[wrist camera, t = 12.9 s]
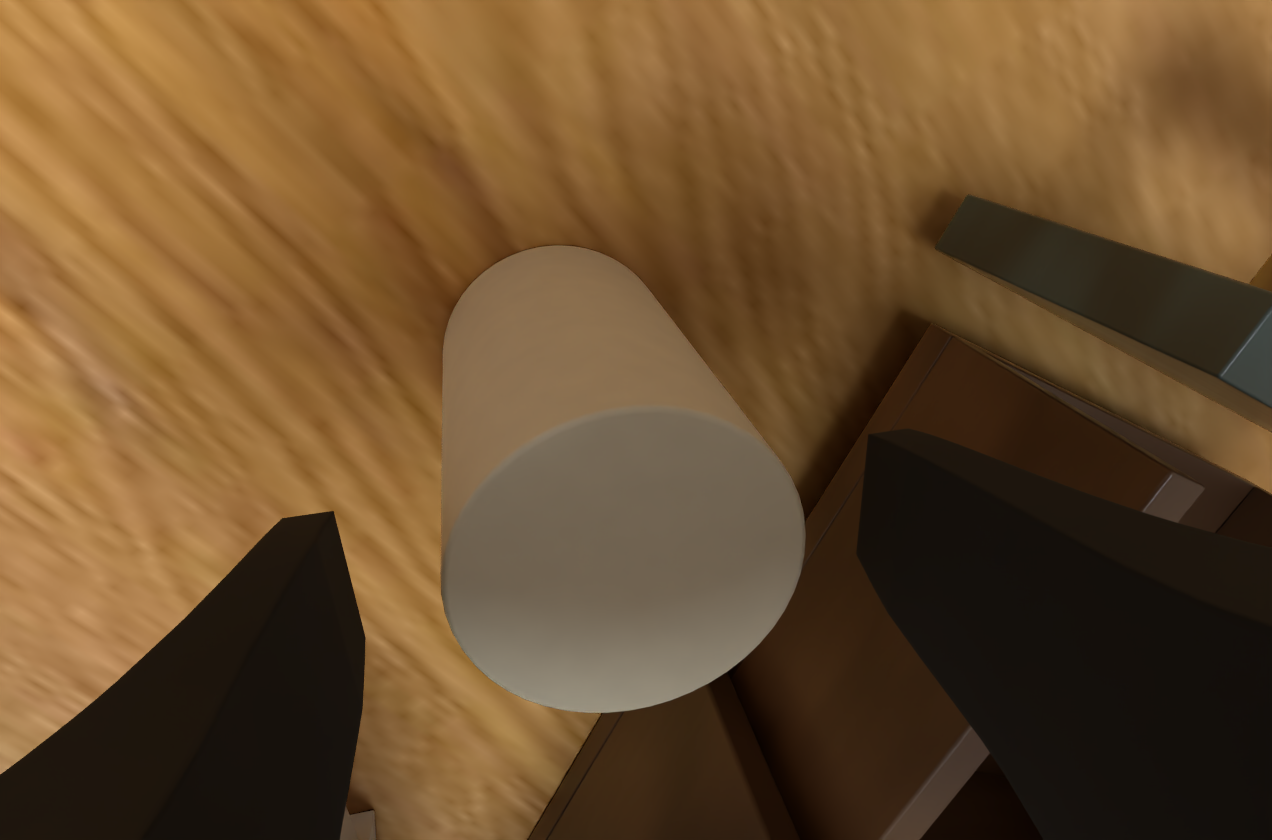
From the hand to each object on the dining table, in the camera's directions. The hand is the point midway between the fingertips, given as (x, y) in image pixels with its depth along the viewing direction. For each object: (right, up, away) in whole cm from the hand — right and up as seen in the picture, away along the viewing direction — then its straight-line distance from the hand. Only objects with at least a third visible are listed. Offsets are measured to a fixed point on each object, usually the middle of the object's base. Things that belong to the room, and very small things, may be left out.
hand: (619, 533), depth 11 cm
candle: (-1, +3, +6) cm, 7 cm away
